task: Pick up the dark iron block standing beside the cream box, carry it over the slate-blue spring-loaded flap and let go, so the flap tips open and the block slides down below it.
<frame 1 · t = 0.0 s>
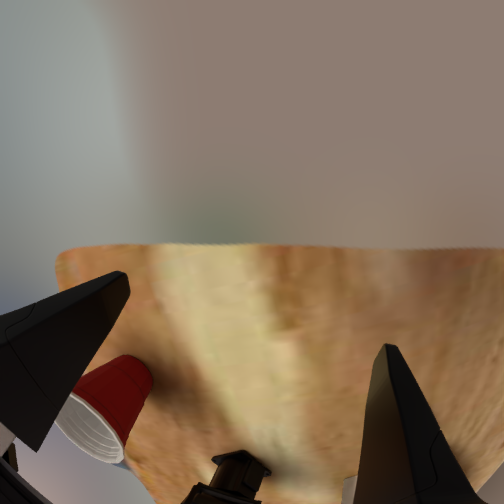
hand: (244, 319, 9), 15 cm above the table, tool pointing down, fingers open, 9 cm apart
plastic cup: (136, 371, 34), on the table
white step stool: (414, 479, 29), on the table
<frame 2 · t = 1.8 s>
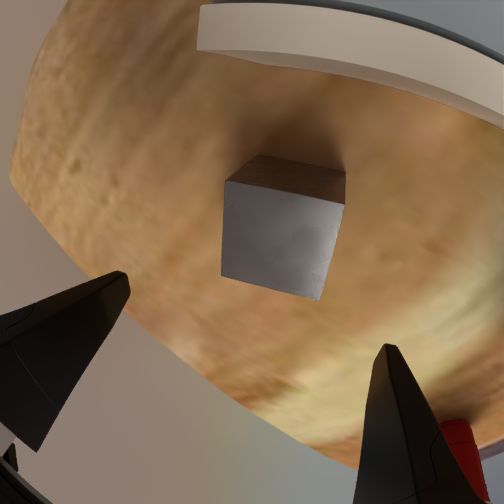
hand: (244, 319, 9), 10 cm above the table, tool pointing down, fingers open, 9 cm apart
plastic cup: (445, 429, 25), on the table
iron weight: (294, 203, 17), on the table
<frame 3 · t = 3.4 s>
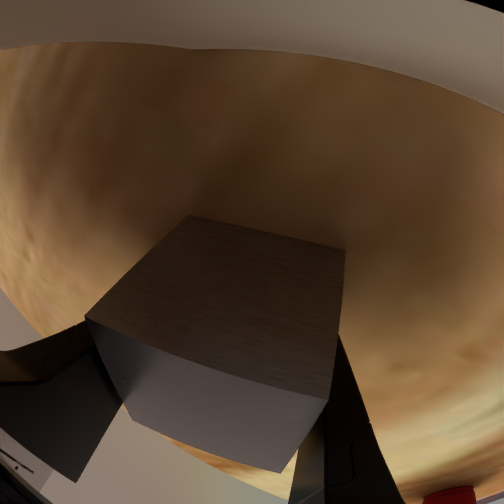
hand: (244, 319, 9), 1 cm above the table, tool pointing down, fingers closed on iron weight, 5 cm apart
plastic cup: (447, 492, 18), on the table
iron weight: (255, 295, 10), on the table, touching gripper
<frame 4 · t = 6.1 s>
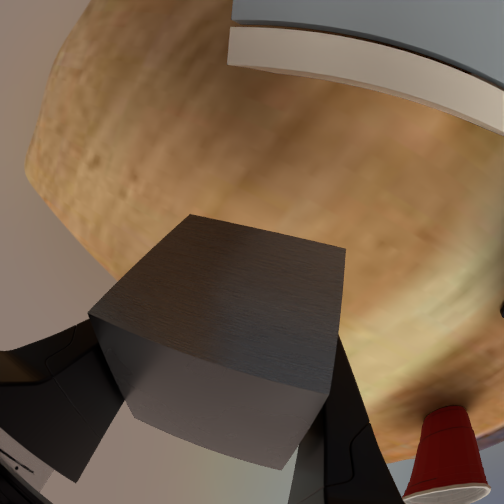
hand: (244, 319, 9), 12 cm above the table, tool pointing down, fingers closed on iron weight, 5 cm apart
plastic cup: (443, 415, 27), on the table
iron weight: (256, 293, 11), point 11 cm above the table, touching gripper
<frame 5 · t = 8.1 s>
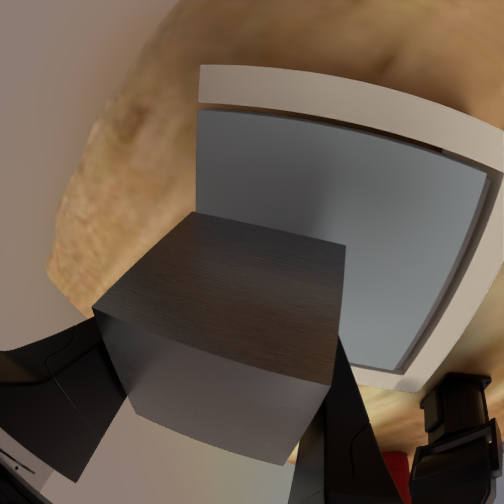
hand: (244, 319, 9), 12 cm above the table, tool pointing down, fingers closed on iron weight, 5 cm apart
plastic cup: (388, 456, 35), on the table
trapdoor: (327, 260, 13), point 8 cm above the table, hinge at 0.0°
white step stool: (331, 197, 19), on the table
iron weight: (258, 289, 11), point 10 cm above the table, touching gripper
when the fingers open (12 cm above the table, at t = 8.5 s): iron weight drops 6 cm, resting on trapdoor.
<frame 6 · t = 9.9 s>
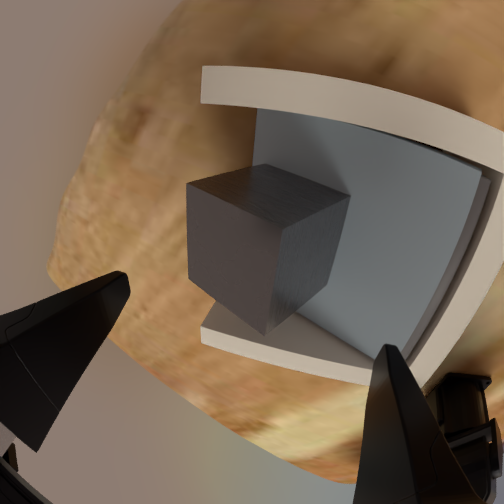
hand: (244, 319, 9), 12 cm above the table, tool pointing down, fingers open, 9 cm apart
trapdoor: (342, 238, 14), point 5 cm above the table, hinge at -25.8°, touching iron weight
white step stool: (332, 197, 19), on the table
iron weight: (297, 223, 15), point 5 cm above the table, tilted 26°, touching trapdoor
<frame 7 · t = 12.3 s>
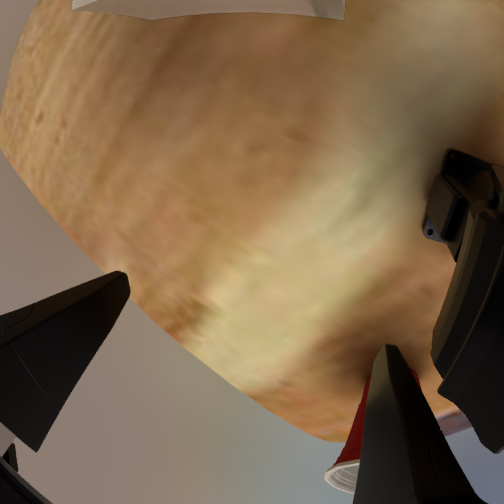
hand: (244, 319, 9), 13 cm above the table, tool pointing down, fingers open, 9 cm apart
plastic cup: (390, 380, 27), on the table
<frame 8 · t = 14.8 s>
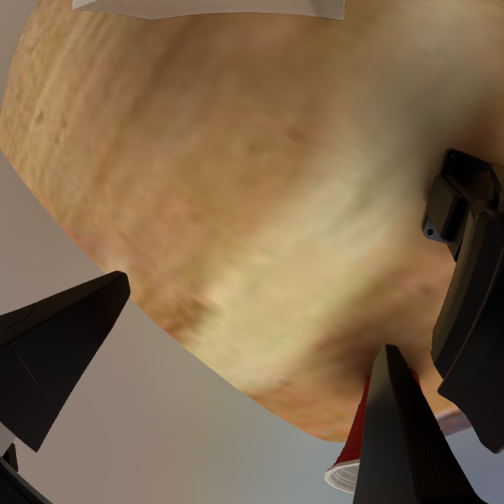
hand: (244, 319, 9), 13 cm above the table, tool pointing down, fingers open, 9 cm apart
plastic cup: (390, 380, 27), on the table
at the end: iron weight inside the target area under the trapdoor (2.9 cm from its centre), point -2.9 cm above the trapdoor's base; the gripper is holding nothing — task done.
